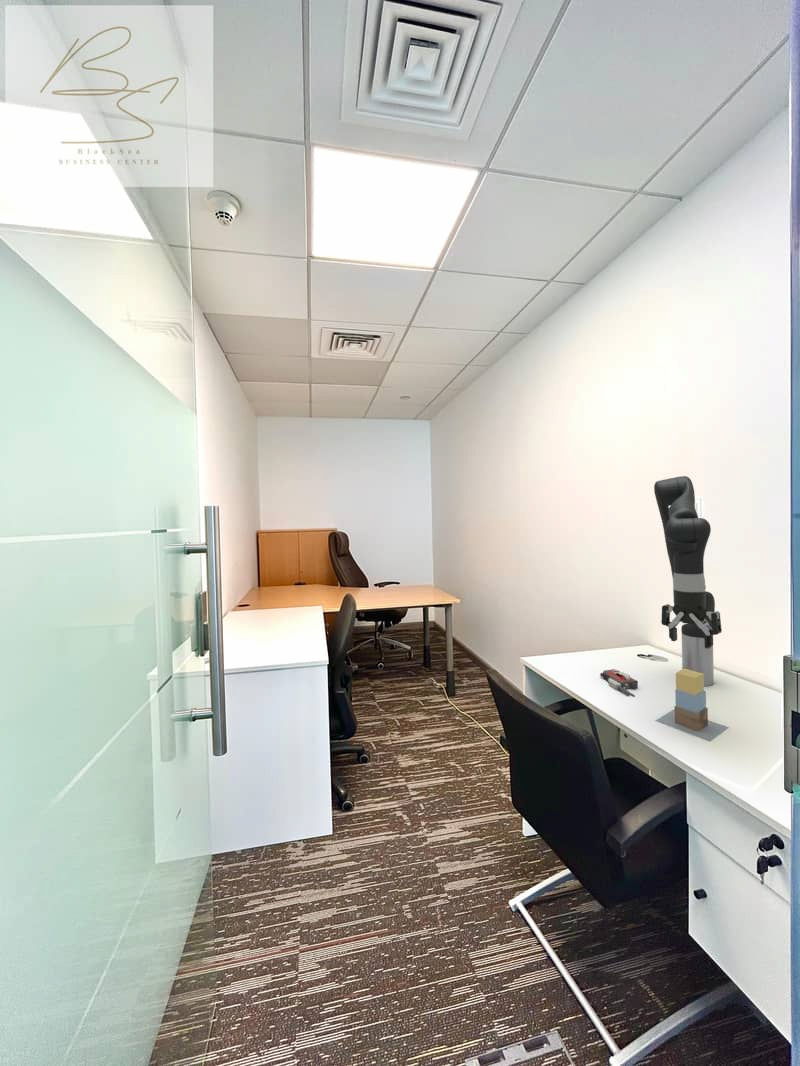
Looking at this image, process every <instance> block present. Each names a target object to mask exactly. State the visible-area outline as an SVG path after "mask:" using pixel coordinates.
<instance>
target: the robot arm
mask: <svg viewBox="0 0 800 1066" xmlns="http://www.w3.org/2000/svg"><path fill="white" fill-rule="evenodd" d="M653 492H654V496H655V500H656V504H657V509H658V511H659V515H660V518H661V523H662V528H663V535H664V540H665V546H666V551H667V552H666V553H667V556H668V557H667V558H668V560H669V564H670V569H671V571H670V572H671V576H672V589H673V590H672V591H673V592H672V593H673V595H672V596H673V606H672V605H670V604H669V603H668V604H667V603H666V604H665V605H662V606H661V622H660V623H661V625H662V626H666V627H667V628H668V637H669V639H670V640H671V642H676V641H678V628H677V626H678V625H679V624H680V623H682V625H681V628H680V630H681V666H682V667H681V670H682V669H688V670H691V671H695V672H699V673H703V674H704V687H705V686H706V687H707V686H709V687H710V686H713V685H714V679H715V677H714V635H715V636H717V635H719V634H721V633H722V631H723V629H722V622H721V612H720V611H717V610H715V609H716V603H715V601H716V600H715V597H714V595H713V594H712V592H710V591H706V590H707V587H706V579H705V573H704V572H705V571H704V567H705V566H704V557H705V552H706V547H707V545H708V541H709V538H710V536H711V531H712V530H711V525H710V522H709V521H708V520H707V519H705V518H703V517H699V516H698V513H697V509H696V505H695V504H696V498H695V495H696V494H695V488H694V483H693V481H692V479H691V478H690V477H689V476H687V475H683V476H677V477H671V478H665V479H661V480H657V481H656V482H654V487H653ZM672 612H673V614H674V615H675V616H674V618H673V619H672V620H671V613H672Z"/></svg>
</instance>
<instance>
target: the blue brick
mask: <svg viewBox="0 0 800 1066" xmlns="http://www.w3.org/2000/svg"><path fill="white" fill-rule="evenodd" d="M674 691H675V692H674V693H675V695H674V696H675V706H676V707H679V708H682V709H685V710H688V711H691V712H694V713H699V712H700V711H702V710H703V709H705V708H707V691H706V690H705V689H704V691H703V692H701V693H699V694H698V695H696V696H695V695H692V694H689V693H686V692H682V691H679V690H676V688H675V690H674Z"/></svg>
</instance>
